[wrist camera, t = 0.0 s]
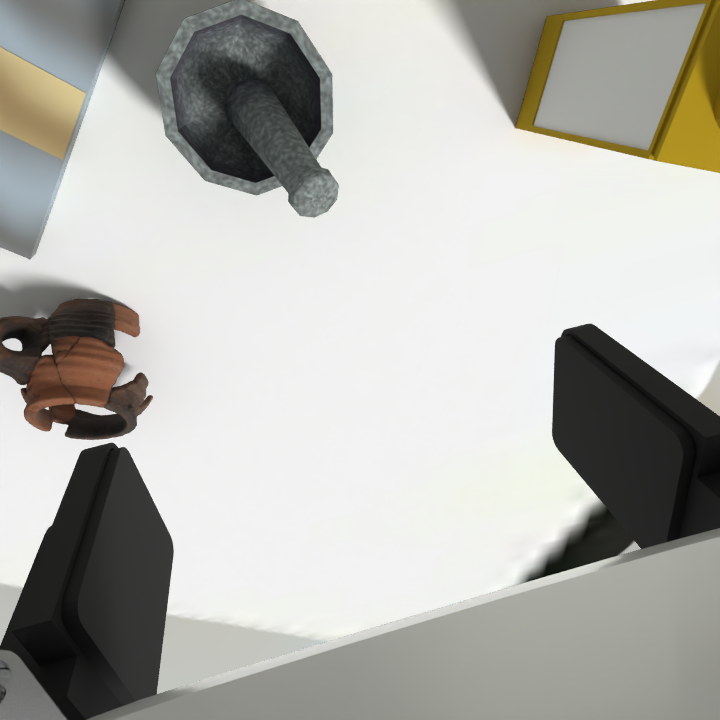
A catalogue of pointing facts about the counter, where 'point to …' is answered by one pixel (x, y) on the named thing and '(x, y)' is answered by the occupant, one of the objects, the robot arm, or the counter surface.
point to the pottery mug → (75, 368)
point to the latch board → (44, 103)
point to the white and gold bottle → (631, 81)
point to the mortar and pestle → (250, 103)
